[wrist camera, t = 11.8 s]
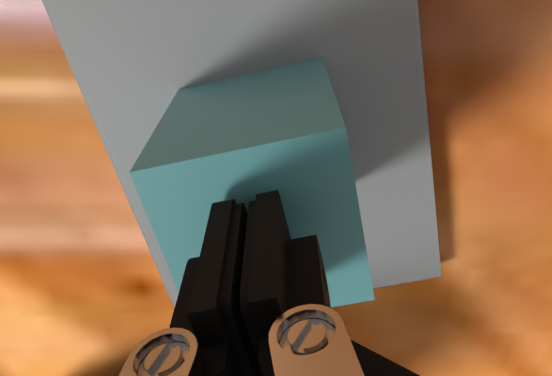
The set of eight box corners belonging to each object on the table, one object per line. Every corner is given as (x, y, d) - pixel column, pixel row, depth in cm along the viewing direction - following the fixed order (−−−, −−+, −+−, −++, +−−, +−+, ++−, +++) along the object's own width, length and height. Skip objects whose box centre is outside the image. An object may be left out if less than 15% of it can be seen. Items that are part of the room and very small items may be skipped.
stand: (31, -52, 16) (-85, -41, 11) (398, -152, 15) (462, -193, 10) (183, 310, 23) (157, 418, 18) (436, 265, 22) (484, 368, 17)
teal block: (178, 89, 17) (129, 172, 12) (322, 57, 17) (345, 127, 11) (218, 211, 20) (194, 330, 14) (345, 186, 19) (374, 300, 13)
